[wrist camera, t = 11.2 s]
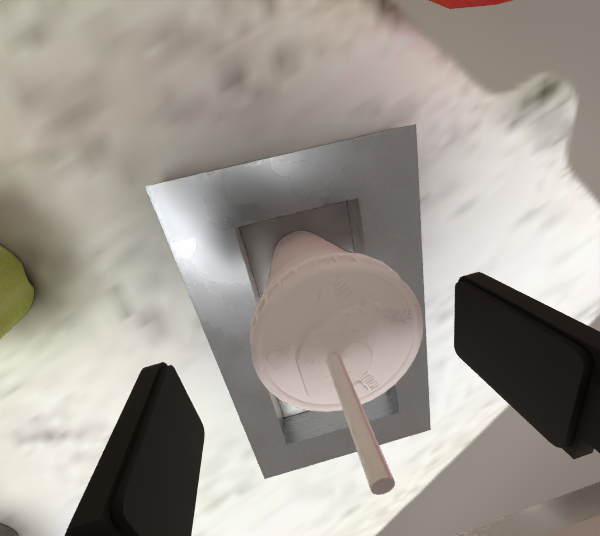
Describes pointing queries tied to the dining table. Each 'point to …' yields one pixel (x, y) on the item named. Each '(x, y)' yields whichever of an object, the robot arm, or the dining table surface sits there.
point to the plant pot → (13, 291)
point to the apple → (467, 3)
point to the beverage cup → (7, 531)
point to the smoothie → (335, 336)
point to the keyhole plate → (243, 291)
